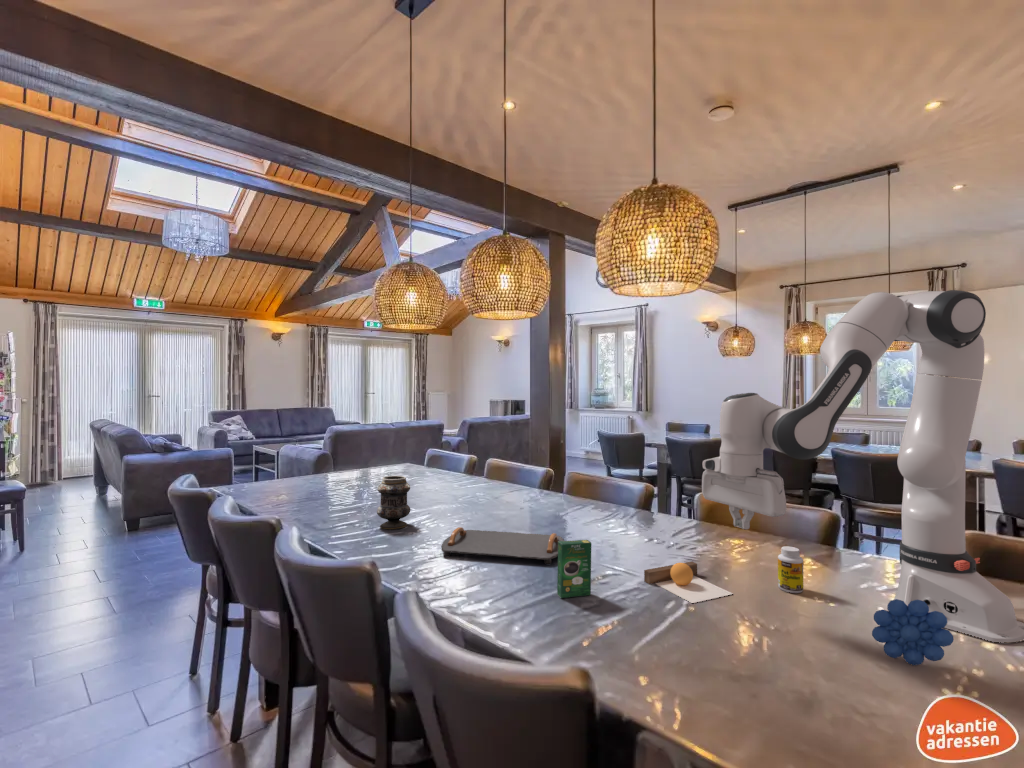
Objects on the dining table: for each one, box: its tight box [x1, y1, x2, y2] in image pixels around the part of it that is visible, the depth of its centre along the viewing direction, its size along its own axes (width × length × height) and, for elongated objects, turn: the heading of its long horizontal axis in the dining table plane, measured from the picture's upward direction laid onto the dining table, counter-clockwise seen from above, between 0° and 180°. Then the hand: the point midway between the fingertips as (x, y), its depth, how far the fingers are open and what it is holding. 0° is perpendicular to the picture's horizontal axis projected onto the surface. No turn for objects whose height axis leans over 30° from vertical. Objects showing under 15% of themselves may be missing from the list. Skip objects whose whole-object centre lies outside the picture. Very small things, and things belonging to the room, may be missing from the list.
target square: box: [654, 575, 734, 604], centre depth 125 cm, size 13×13×1 cm
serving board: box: [440, 526, 565, 565], centre depth 157 cm, size 39×23×6 cm, turn 77°
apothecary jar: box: [376, 475, 411, 530], centre depth 185 cm, size 12×12×18 cm
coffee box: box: [556, 539, 592, 599], centre depth 122 cm, size 8×3×13 cm, turn 104°
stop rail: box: [643, 561, 698, 585], centre depth 132 cm, size 2×16×3 cm, turn 113°
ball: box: [670, 562, 693, 586], centre depth 128 cm, size 6×6×6 cm
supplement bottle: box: [777, 545, 804, 594], centre depth 125 cm, size 6×6×10 cm
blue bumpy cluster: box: [871, 599, 955, 666], centre depth 91 cm, size 12×7×12 cm, turn 47°
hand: (741, 527), depth 112 cm, fingers closed
